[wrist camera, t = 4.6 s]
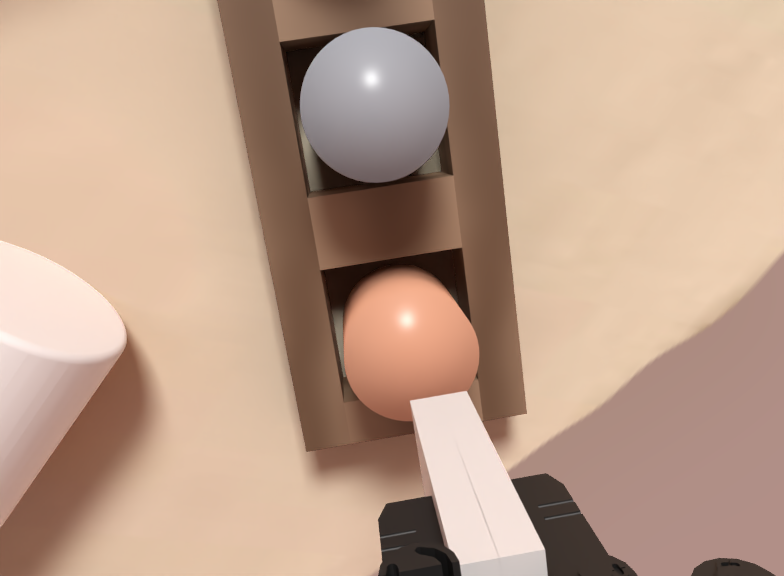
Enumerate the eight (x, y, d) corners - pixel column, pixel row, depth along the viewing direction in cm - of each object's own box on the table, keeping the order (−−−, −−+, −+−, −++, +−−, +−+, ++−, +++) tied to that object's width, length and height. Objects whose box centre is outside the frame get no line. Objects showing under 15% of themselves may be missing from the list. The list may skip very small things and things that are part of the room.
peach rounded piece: (352, 380, 29) (355, 431, 24) (334, 273, 28) (333, 304, 23) (460, 361, 29) (486, 409, 24) (447, 255, 28) (471, 282, 23)
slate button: (318, 181, 27) (314, 193, 22) (296, 57, 26) (287, 38, 21) (435, 163, 27) (458, 170, 22) (419, 39, 26) (439, 16, 21)
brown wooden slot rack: (309, 422, 31) (306, 451, 28) (180, -243, 25) (159, -293, 22) (509, 388, 32) (526, 413, 29) (437, -274, 25) (450, -328, 22)
